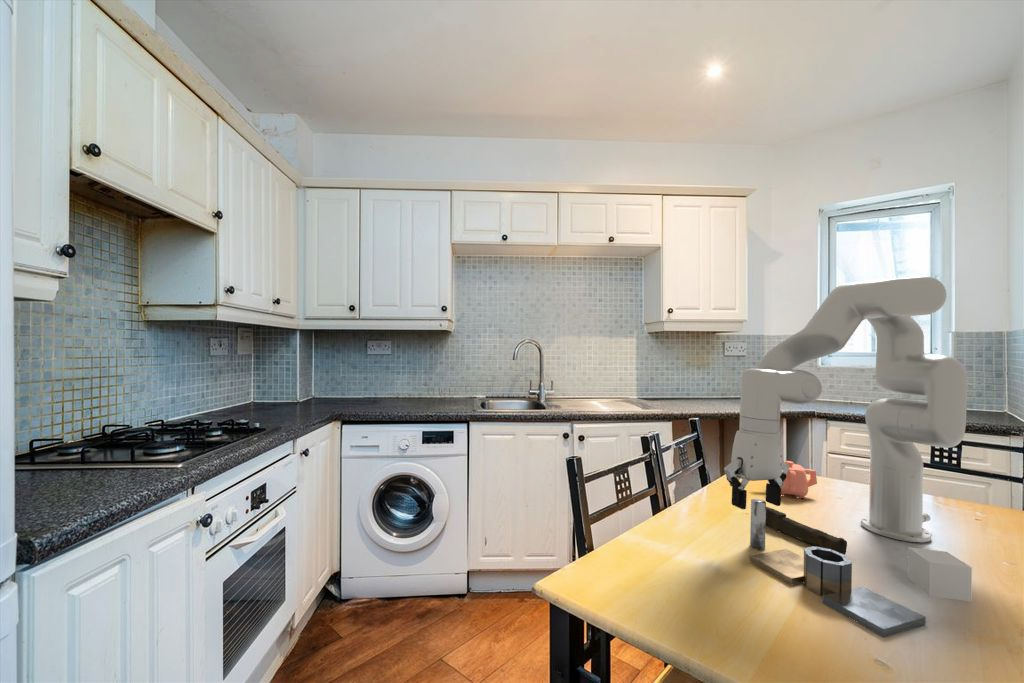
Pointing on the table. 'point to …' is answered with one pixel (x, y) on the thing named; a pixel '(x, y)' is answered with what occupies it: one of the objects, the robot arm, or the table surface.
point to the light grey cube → (940, 574)
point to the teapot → (798, 480)
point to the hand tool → (803, 531)
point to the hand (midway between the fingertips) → (756, 505)
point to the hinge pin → (758, 524)
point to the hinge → (839, 588)
